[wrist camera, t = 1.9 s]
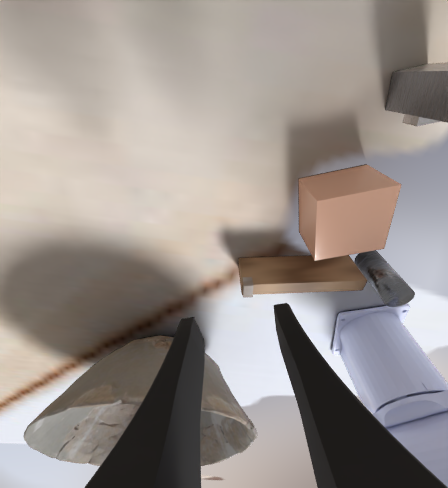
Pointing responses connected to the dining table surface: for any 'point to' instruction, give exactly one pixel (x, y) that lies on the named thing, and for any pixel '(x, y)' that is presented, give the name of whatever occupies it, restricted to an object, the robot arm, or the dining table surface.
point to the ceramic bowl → (133, 408)
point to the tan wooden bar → (298, 275)
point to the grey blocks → (416, 113)
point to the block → (346, 211)
